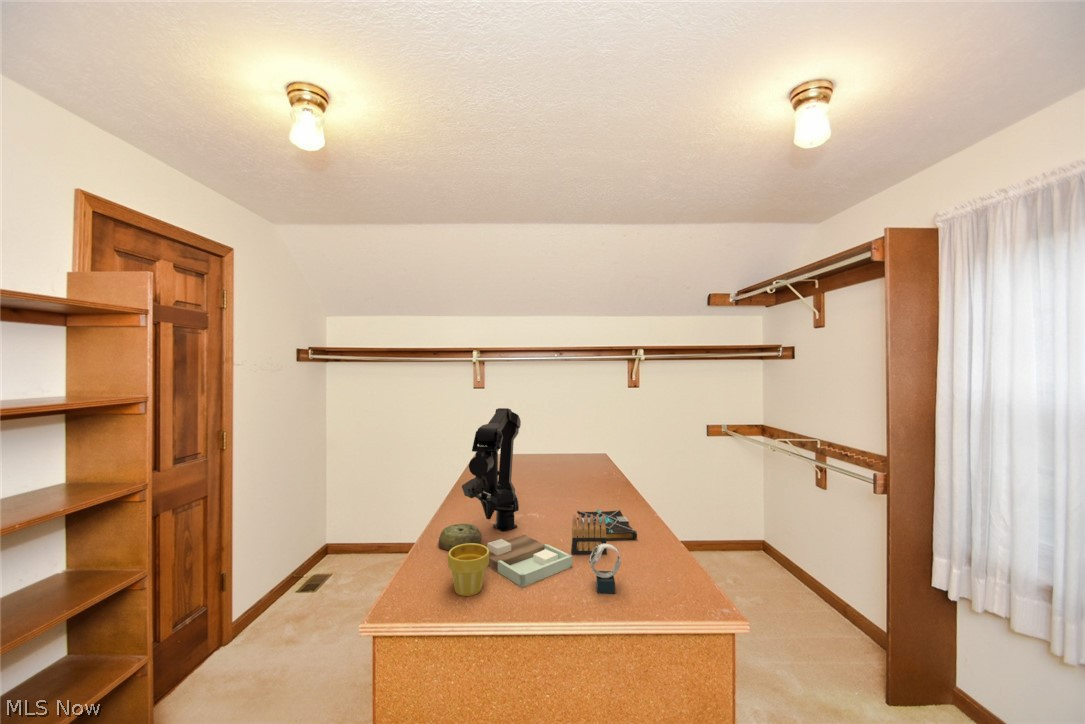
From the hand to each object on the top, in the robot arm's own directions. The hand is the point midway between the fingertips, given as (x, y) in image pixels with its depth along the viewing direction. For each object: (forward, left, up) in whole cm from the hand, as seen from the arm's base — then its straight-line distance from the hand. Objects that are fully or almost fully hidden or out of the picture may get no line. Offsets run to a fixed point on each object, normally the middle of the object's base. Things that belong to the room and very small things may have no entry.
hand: (488, 519), depth 134 cm
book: (+11, +41, -11) cm, 44 cm away
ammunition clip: (+21, +23, -10) cm, 32 cm away
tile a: (+17, +8, -9) cm, 21 cm away
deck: (+7, +4, -10) cm, 13 cm away
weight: (-11, -3, -10) cm, 16 cm away
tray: (+18, +4, -10) cm, 21 cm away
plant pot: (+16, -16, -10) cm, 25 cm away
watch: (+38, +11, -10) cm, 41 cm away
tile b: (+6, 0, -7) cm, 10 cm away
